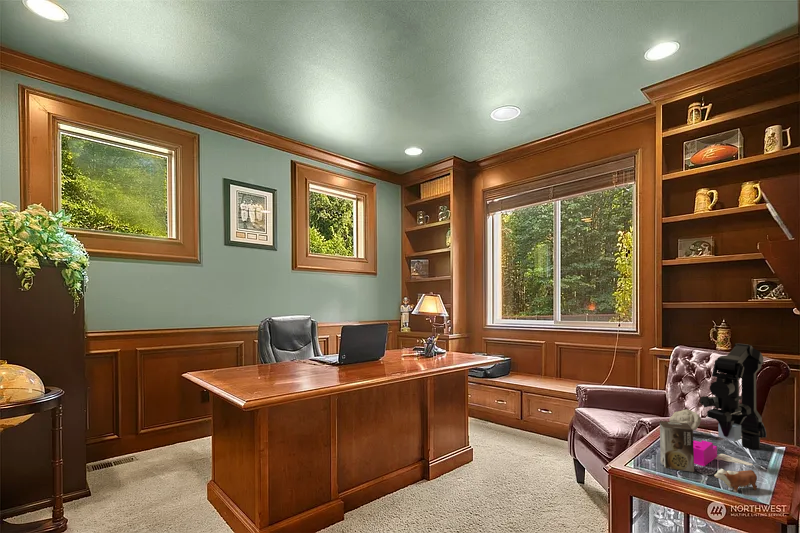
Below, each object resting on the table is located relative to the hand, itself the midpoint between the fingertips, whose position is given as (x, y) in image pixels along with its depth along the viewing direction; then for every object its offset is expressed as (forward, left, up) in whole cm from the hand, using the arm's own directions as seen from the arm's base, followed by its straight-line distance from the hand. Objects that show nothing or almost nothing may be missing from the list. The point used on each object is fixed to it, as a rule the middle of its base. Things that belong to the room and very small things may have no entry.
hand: (729, 435), depth 151 cm
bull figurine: (+20, +11, -11) cm, 26 cm away
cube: (0, 0, -1) cm, 1 cm away
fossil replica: (-18, -25, -11) cm, 33 cm away
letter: (-2, -1, -11) cm, 11 cm away
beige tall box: (+20, -8, -11) cm, 24 cm away
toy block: (+3, -4, -8) cm, 10 cm away
